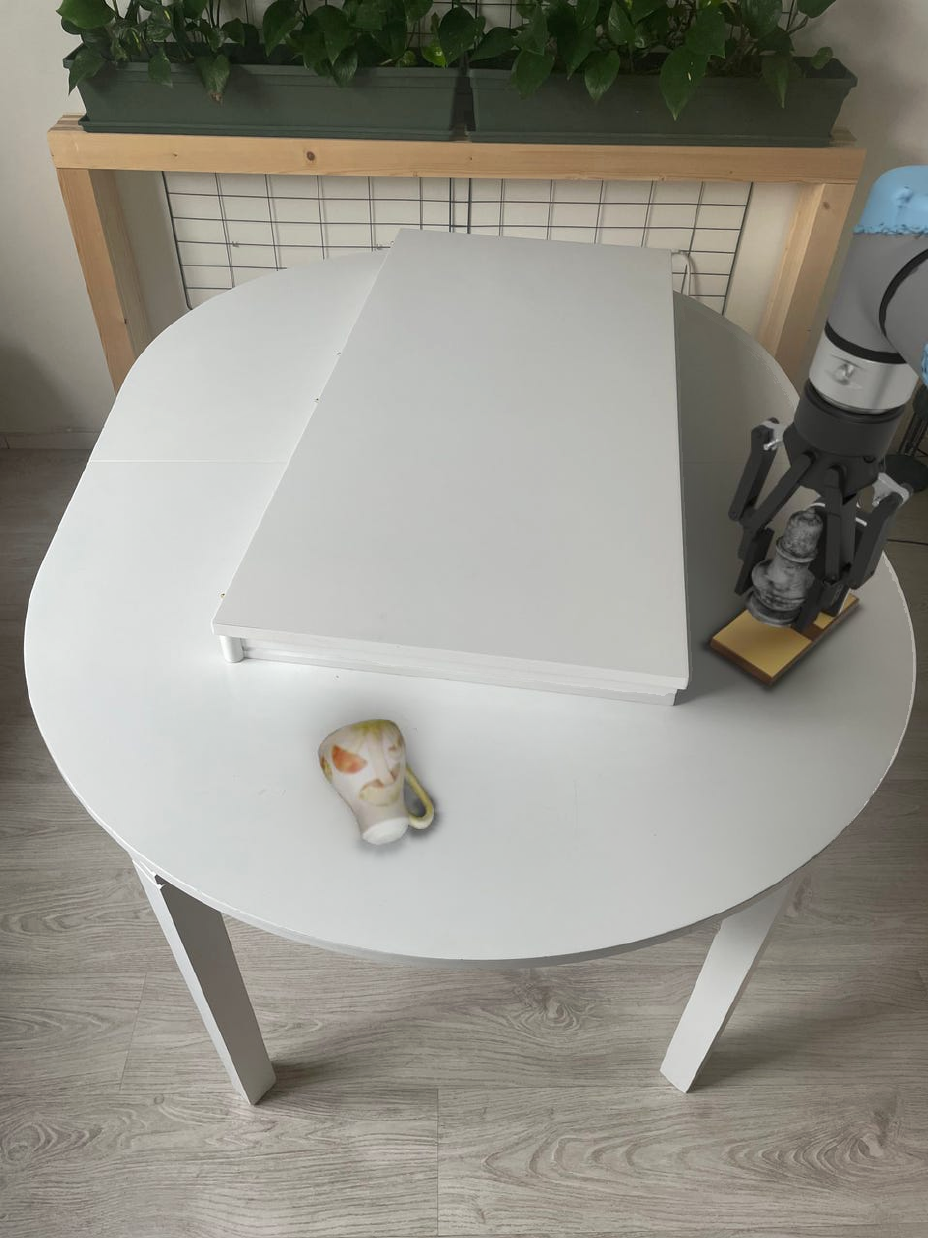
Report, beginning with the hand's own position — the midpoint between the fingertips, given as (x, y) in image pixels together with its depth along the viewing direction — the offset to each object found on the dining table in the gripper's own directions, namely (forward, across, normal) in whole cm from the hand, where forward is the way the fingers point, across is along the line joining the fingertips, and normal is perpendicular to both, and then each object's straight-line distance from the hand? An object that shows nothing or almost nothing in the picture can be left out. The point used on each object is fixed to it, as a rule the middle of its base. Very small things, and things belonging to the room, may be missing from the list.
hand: (774, 605), depth 87 cm
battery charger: (+5, 0, +9) cm, 10 cm away
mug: (+6, -11, -39) cm, 41 cm away
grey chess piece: (0, 0, 0) cm, 0 cm away
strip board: (+6, 0, +4) cm, 7 cm away
